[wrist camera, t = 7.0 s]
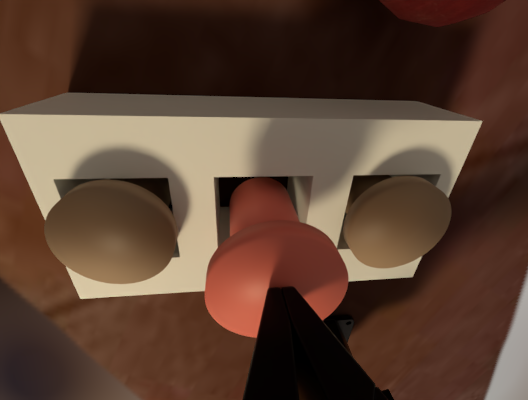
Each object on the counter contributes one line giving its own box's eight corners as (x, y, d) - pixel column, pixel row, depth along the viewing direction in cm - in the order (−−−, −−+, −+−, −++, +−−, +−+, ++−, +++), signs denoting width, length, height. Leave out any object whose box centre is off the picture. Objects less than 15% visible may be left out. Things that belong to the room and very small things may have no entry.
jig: (375, 230, 19) (412, 277, 16) (113, 241, 17) (80, 298, 13) (416, 101, 15) (482, 121, 11) (67, 92, 13) (-3, 113, 9)
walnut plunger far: (376, 207, 18) (429, 265, 13) (310, 209, 17) (341, 271, 13) (396, 140, 16) (469, 182, 11) (320, 140, 15) (363, 184, 10)
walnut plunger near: (193, 212, 16) (180, 280, 12) (114, 215, 16) (67, 287, 11) (186, 140, 14) (166, 188, 9) (93, 139, 14) (22, 190, 9)
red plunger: (300, 239, 15) (335, 332, 10) (215, 243, 14) (209, 343, 9) (310, 160, 12) (363, 233, 8) (210, 161, 12) (198, 240, 7)
